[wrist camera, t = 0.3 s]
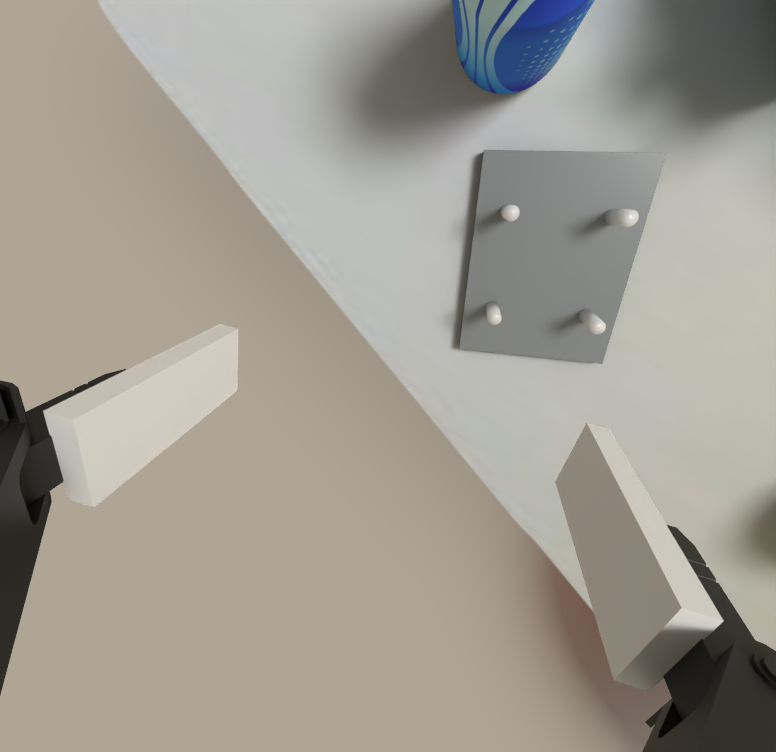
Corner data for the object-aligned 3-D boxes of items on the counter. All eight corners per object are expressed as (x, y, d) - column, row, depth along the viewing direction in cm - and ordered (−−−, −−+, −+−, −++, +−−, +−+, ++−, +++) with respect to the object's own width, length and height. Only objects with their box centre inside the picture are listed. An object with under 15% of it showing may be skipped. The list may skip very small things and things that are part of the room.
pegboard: (483, 151, 33) (485, 143, 28) (659, 154, 30) (693, 146, 26) (459, 344, 40) (457, 363, 36) (598, 359, 38) (616, 380, 33)
